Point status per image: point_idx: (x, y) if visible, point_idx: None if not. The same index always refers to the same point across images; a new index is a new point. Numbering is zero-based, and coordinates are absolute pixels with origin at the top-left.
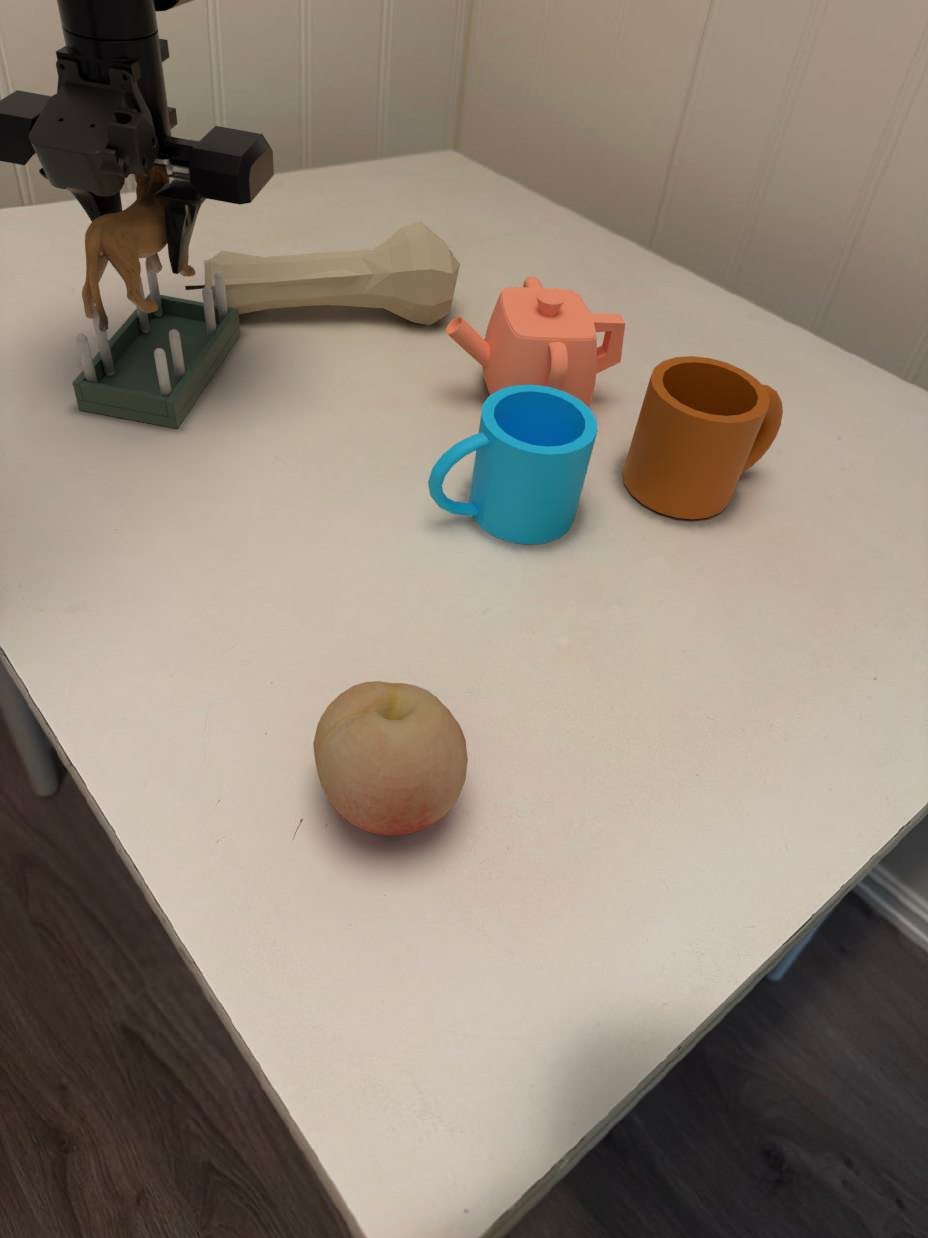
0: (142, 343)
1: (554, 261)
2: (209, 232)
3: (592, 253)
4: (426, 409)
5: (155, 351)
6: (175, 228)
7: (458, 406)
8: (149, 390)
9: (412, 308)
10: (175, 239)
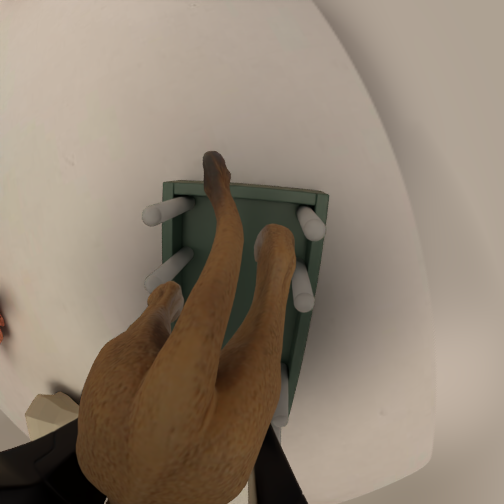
0: None
1: None
2: None
3: None
4: (12, 278)
5: (153, 211)
6: (46, 445)
7: (3, 286)
8: None
9: (56, 399)
10: (68, 431)
